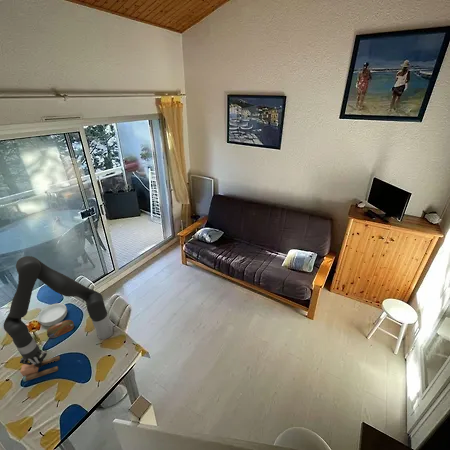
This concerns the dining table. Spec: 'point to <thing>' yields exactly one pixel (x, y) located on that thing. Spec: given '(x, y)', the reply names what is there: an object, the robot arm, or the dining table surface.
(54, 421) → the dining table surface
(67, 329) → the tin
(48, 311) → the cereal bowl
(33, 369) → the block
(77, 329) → the dining table surface
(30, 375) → the pair of brown rods
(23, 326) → the robot arm
